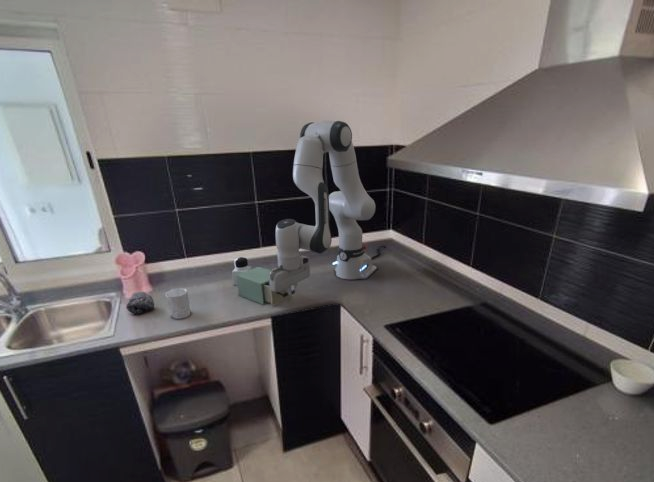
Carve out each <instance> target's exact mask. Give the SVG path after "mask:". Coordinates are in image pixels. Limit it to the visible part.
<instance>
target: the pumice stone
mask: <svg viewBox="0 0 654 482" xmlns="http://www.w3.org/2000/svg"><path fill="white" fill-rule="evenodd" d="M155 305H156V304H155V301H154V298H153V297H152V296H151V295H150V294H149V293H146V292H145V291H136V292H133V293H132V294H131V296H130V298H129V300H128V302H127V303H126V306H125V307H126V310H127V311H128V312H129V313H131V314H133V315H142V314H144V313H146V312H149V311H152V310H154V309H155Z"/></svg>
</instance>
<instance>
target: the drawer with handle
mask: <svg viewBox="0 0 654 482" xmlns="http://www.w3.org/2000/svg"><path fill="white" fill-rule="evenodd" d="M268 285H270V282H268V283H266V284H263V285H262V286H263V294H264V301H267V302H268V303H270V306H275V305H277V304H279V303H281V302H283V301H285V300H287V299H289V298H291V297H293V295H291V296H290V295H288V292H287V290H286V289H283V290H281V291H279V292H274V291H272V290H270V287H269V286H268ZM290 289H291V288H290ZM296 290H297V289H295V291H296ZM296 292H297V291H296Z"/></svg>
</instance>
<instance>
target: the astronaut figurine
mask: <svg viewBox="0 0 654 482" xmlns="http://www.w3.org/2000/svg"><path fill="white" fill-rule="evenodd" d="M233 264H234V268H233V270H232V271H231V274H232V281H233V286H238V283H237V277H236V275H238V274H240V273H243V272H246V271H248V270H251V269H253V268H252V266H251V265H249V263H248V258H246V257H243V256H239V257H236V258H234V259H233Z"/></svg>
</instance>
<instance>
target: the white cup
mask: <svg viewBox="0 0 654 482" xmlns="http://www.w3.org/2000/svg"><path fill="white" fill-rule="evenodd" d="M165 297H166V301H167V304H168V307H169V310H170V312H171V315H172V318H174V319H176V320H179V319H180V320H181V319H185V318H187V317H189V316H191V308H190V307H191V306H190V300H189V299H190V298H189V294H188V290H187V289H186V288H183V287H179V288H178V287H177V288H172V289H170V290H168V291H166V292H165Z"/></svg>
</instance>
